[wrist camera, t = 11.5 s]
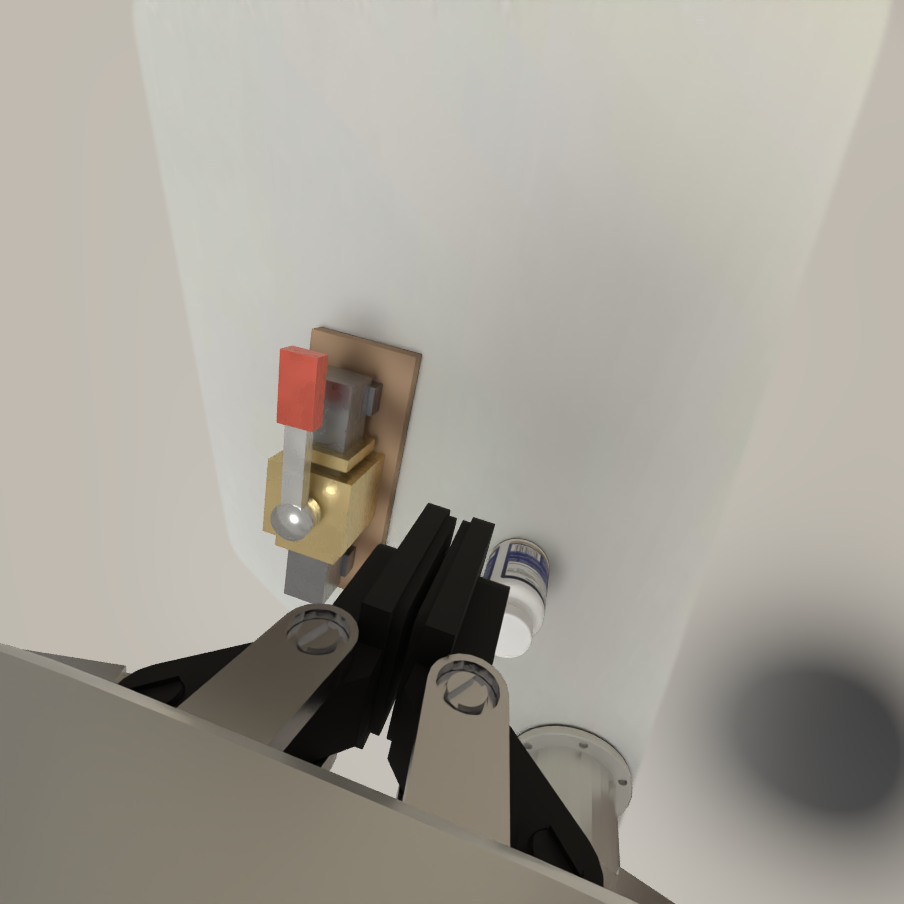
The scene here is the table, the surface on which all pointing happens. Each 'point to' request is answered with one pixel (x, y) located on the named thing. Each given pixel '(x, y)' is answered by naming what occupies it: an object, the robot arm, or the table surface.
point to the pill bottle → (519, 593)
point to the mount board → (376, 417)
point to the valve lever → (298, 438)
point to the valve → (333, 487)
